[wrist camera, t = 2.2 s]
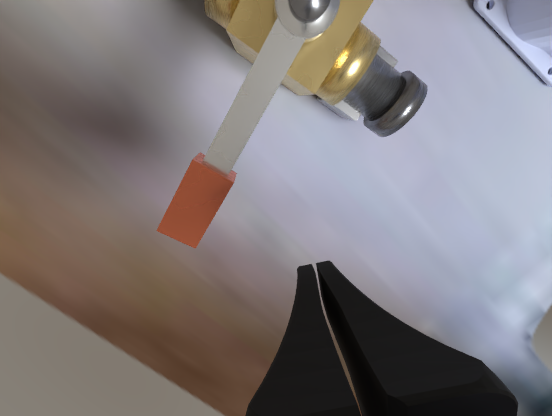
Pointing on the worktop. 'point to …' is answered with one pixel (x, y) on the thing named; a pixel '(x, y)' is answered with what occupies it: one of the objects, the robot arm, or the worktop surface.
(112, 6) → the worktop surface
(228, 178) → the valve lever
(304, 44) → the pipe valve
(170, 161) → the worktop surface
